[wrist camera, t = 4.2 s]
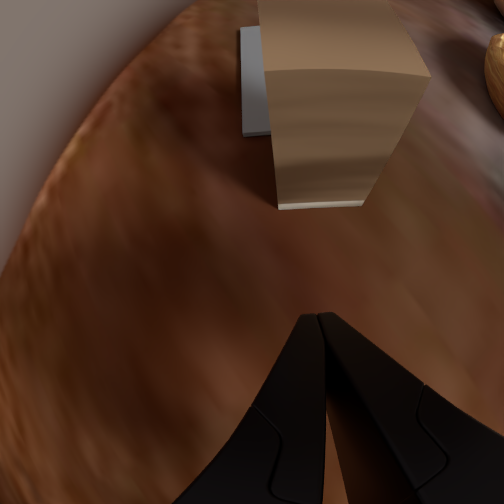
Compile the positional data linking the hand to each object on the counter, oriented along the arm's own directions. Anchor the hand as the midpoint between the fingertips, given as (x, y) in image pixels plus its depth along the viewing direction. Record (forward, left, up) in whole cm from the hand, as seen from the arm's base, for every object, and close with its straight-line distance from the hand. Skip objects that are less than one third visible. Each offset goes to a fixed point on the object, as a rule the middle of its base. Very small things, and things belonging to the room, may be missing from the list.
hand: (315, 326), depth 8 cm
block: (+8, 0, -8) cm, 11 cm away
